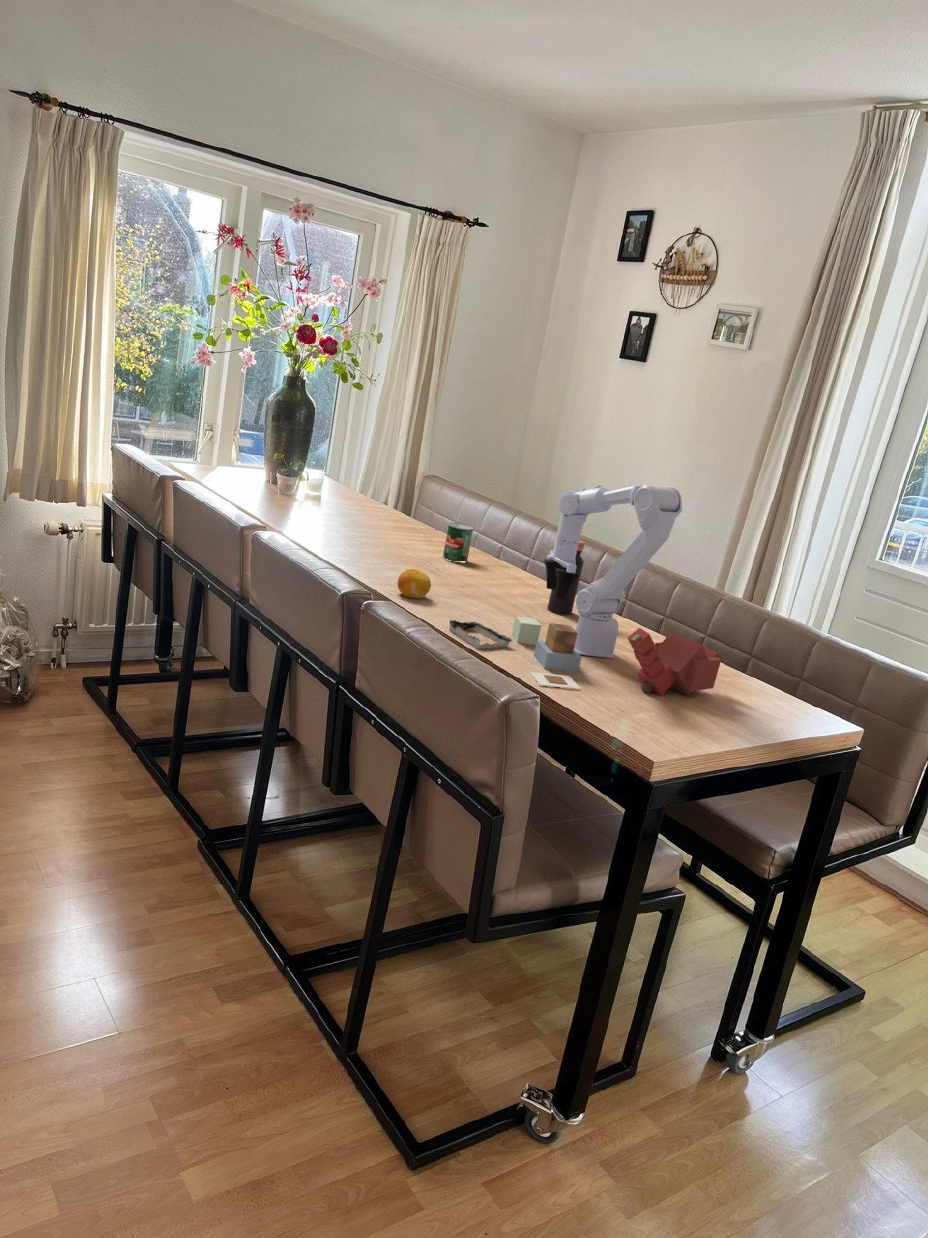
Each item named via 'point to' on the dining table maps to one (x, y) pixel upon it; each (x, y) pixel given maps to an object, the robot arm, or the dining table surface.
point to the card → (555, 681)
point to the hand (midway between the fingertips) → (555, 593)
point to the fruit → (414, 583)
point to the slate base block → (556, 658)
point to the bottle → (567, 603)
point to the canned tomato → (458, 542)
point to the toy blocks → (674, 663)
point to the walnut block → (561, 638)
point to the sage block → (526, 630)
